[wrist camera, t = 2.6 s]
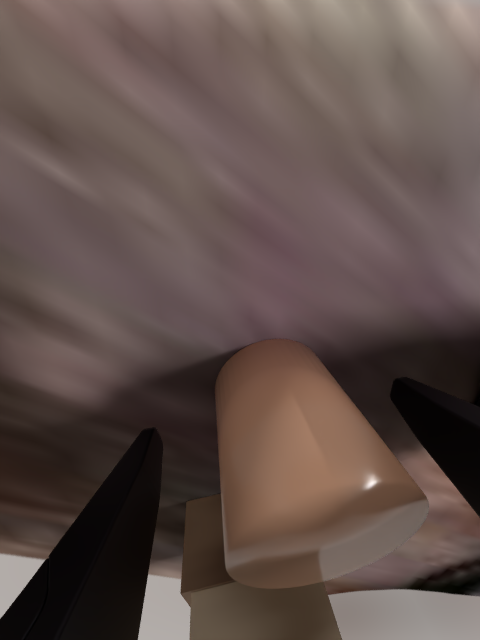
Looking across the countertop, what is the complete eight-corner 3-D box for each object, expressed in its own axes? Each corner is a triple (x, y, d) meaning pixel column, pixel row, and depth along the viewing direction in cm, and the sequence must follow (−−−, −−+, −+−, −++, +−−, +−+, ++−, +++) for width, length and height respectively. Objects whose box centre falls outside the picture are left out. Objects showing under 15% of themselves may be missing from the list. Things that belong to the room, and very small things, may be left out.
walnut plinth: (291, 473, 13) (319, 557, 10) (293, 522, 15) (315, 601, 12) (186, 497, 12) (180, 593, 9) (207, 543, 15) (208, 630, 12)
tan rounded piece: (325, 329, 9) (457, 458, 4) (319, 413, 11) (403, 559, 6) (205, 350, 8) (206, 517, 4) (224, 433, 10) (238, 603, 6)
